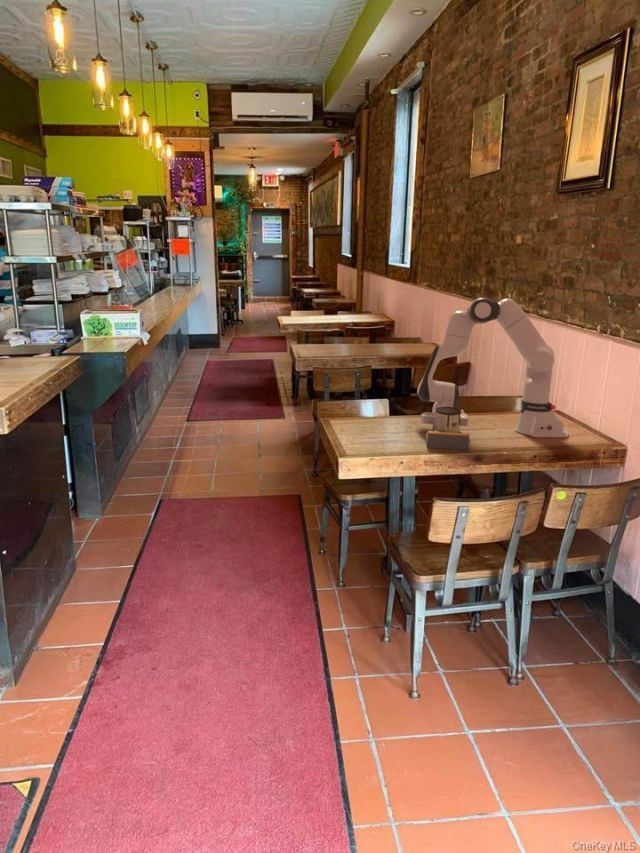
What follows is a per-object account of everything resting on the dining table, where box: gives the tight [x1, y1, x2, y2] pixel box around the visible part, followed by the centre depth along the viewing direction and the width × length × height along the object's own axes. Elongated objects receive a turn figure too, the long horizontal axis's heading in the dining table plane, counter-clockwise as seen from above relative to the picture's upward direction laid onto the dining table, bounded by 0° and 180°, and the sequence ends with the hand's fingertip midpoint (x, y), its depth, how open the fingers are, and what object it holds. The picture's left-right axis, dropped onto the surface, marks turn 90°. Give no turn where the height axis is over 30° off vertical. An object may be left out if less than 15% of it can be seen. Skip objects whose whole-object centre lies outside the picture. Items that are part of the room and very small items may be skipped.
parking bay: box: [425, 430, 470, 451], centre depth 259 cm, size 16×13×7 cm
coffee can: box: [433, 407, 462, 433], centre depth 260 cm, size 10×10×14 cm
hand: (445, 423), depth 265 cm, fingers closed, pressing on coffee can
